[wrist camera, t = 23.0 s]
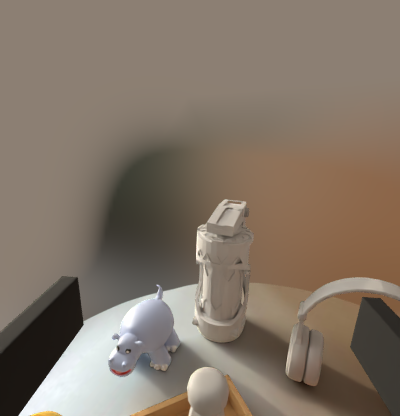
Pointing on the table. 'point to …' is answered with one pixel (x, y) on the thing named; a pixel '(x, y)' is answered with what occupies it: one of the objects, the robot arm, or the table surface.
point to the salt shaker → (207, 392)
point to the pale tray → (180, 407)
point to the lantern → (223, 273)
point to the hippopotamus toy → (145, 337)
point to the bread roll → (46, 414)
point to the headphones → (313, 340)
